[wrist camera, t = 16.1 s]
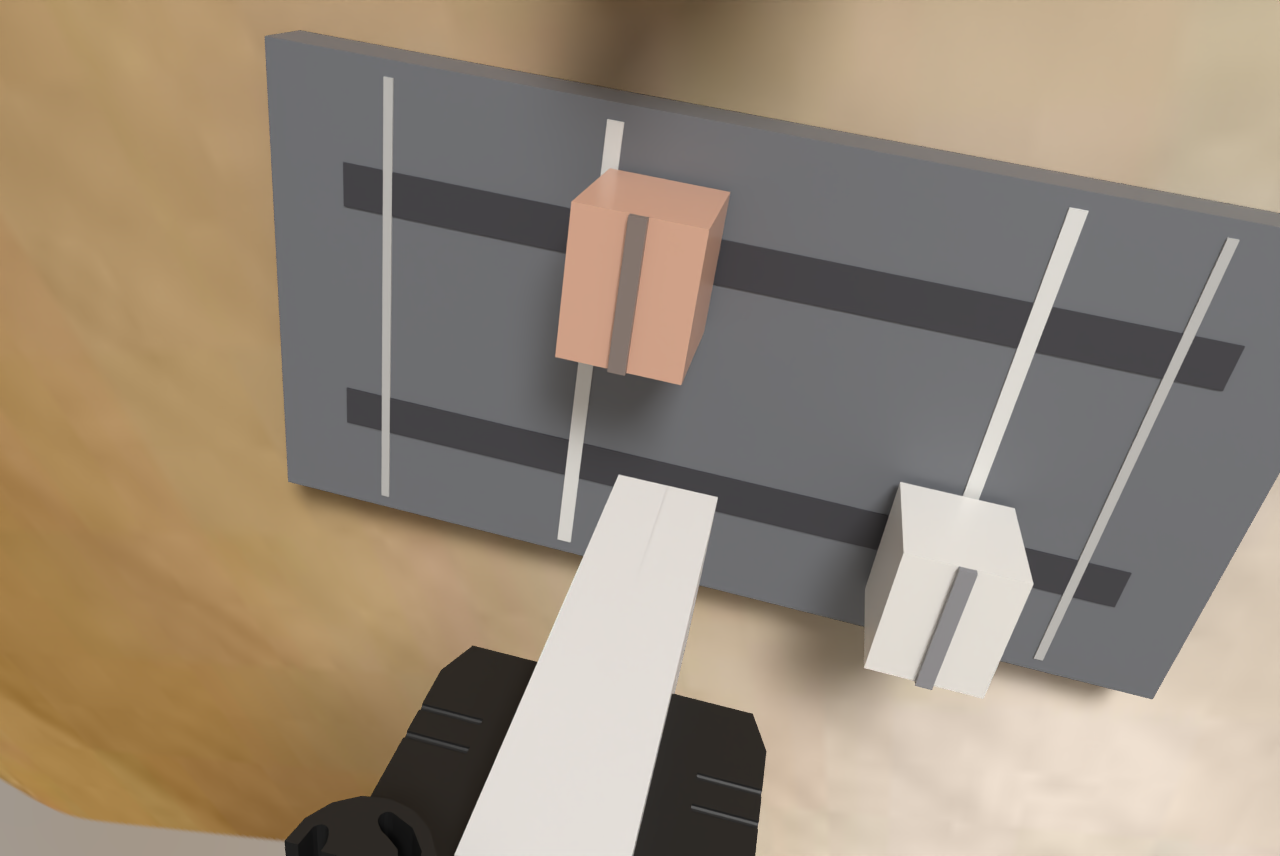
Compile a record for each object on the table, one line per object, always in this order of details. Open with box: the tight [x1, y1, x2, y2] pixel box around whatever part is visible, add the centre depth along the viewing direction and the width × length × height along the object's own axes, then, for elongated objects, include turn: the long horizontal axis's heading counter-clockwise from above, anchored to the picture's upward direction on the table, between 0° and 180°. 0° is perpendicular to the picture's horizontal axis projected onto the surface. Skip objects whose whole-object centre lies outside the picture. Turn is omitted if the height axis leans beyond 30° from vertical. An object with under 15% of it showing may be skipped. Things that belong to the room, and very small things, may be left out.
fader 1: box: [555, 168, 730, 385], centre depth 26 cm, size 4×4×4 cm
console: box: [265, 30, 1280, 699], centre depth 31 cm, size 32×16×2 cm, turn 81°
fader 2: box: [864, 482, 1033, 699], centre depth 29 cm, size 4×4×4 cm
